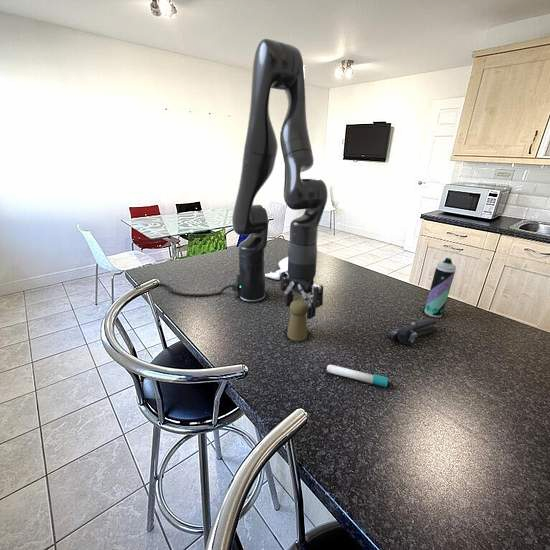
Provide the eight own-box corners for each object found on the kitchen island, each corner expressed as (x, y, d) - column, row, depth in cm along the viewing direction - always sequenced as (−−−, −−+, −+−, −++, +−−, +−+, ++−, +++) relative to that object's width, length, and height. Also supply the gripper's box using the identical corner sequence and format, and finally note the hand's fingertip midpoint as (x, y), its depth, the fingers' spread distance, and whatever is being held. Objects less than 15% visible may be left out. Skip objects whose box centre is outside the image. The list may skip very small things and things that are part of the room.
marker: (325, 373, 72) (326, 366, 71) (327, 368, 74) (328, 360, 73) (386, 389, 68) (388, 382, 67) (386, 382, 70) (388, 375, 69)
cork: (306, 342, 83) (308, 309, 79) (285, 339, 84) (286, 306, 80) (308, 330, 89) (310, 298, 84) (288, 327, 90) (290, 296, 85)
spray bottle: (308, 264, 138) (282, 283, 119) (288, 259, 143) (260, 277, 124) (309, 258, 136) (282, 277, 118) (289, 254, 142) (260, 271, 123)
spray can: (421, 309, 102) (435, 255, 94) (436, 308, 102) (451, 255, 94) (430, 317, 97) (445, 261, 89) (445, 317, 97) (462, 261, 89)
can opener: (403, 351, 80) (407, 335, 78) (384, 338, 86) (387, 321, 84) (444, 335, 88) (449, 319, 86) (424, 323, 94) (428, 308, 91)
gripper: (274, 254, 79) (273, 306, 86) (312, 269, 69) (308, 327, 76) (293, 248, 84) (291, 298, 90) (332, 262, 74) (327, 317, 80)
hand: (299, 311), depth 83 cm, fingers open, 8 cm apart
